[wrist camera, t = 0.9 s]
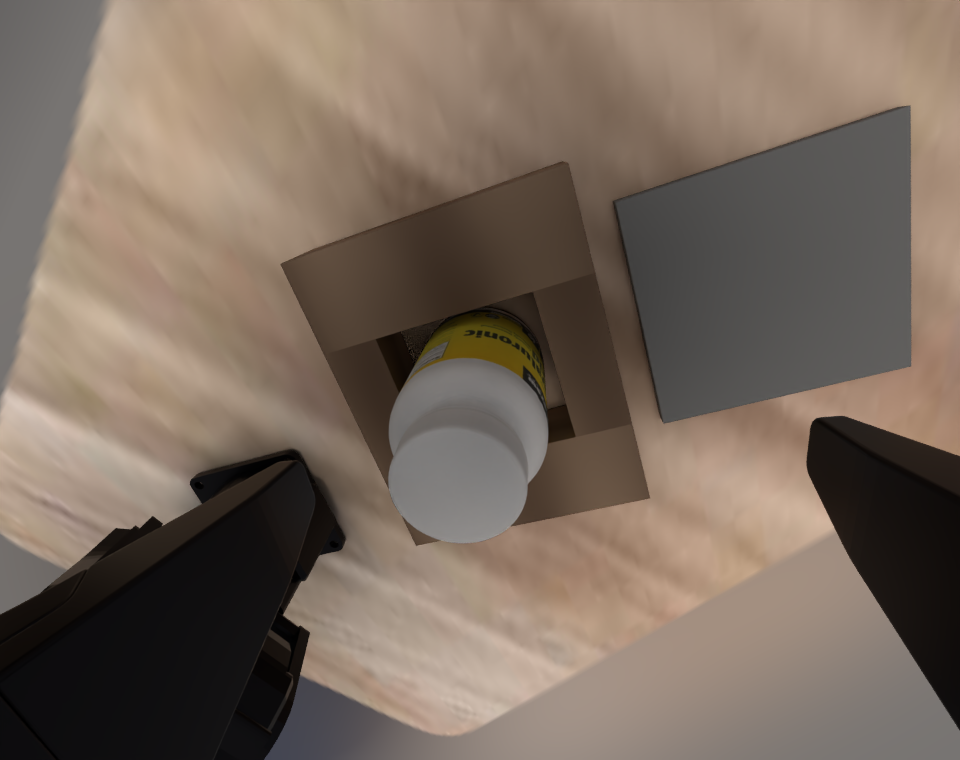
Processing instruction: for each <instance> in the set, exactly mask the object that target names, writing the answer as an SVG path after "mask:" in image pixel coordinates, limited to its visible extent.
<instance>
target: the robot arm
mask: <svg viewBox="0 0 960 760" xmlns="http://www.w3.org/2000/svg"><path fill="white" fill-rule="evenodd" d="M287 459H290V460H292V461H288V460H287ZM806 463H807V470H808V474H809V476H810V478H811V481H812V483H813V485H814V487H815V489H816V491H817V493H818V495H819V497H820V499H821V501H822V503H823V505H824V507H825V509H826V511H827V513H828V515H829V518H830V520H831V522H832V524H833V526H834V528H835V530H836V532H837V534H838V536H839V538H840V540H841V542H842V544H843V546H844V548H845V550H846V552H847V554H848V555H849V557H850V559H851V561H852V562H853V564H854V566H855V567H856V569H857V571H858V572H859V574H860V575H861V577H862V578H863V580H864V582H865V583H866V584H867V586H868V588H869V589H870V591H871V592H872V594H873V596H874V597H875V599H876V600H877V602H878V603H879V605H880V607H881V608H882V610H883V611H884V613H885V614H886V616H887V618H888V619H889V621H890V622H891V624H892V625H893V627H894V628H895V630H896V632H897V633H898V634H899V636H900V638H901V639H902V641H903V643H904V644H905V646H906V647H907V649H908V650H909V652H910V653H911V655H912V657H913V658H914V660H915V661H916V663H917V664H918V666H919V667H920V669H921V671H922V672H923V674H924V675H925V677H926V679H927V680H928V682H929V683H930V685H931V686H932V688H933V690H934V691H935V692H936V694H937V696H938V697H939V699H940V700H941V702H942V703H943V705H944V707H945V708H946V710H947V711H948V713H949V715H950V716H951V718H952V719H953V721H954V722H955V724H956V725H957V727H958V729H959V730H960V456H958V455H955V454H952V453H949V452H946V451H943V450H940V449H938V448H935V447H932V446H929V445H926V444H923V443H920V442H917V441H914V440H912V439H909V438H906V437H903V436H900V435H897V434H894V433H891V432H889V431H886V430H883V429H880V428H877V427H874V426H871V425H868V424H865V423H863V422H860V421H857V420H854V419H851V418H848V417H845V416H833V417H821V418H816V419H815V420H814V421H813V422H812V424H811V428H810V435H809V444H808V452H807V461H806ZM200 482H201V483H202V484H201V483H200ZM190 486H191V488H192V489H193V491H194V492H195V494H196V495H197V497H198V498H199V500H200V501H201V503H202V504H201V505H199V506H198V507H196V508H194V509H192V510H190V511H189V512H187V513H185V514H183V515H181V516H180V517H178V518H176V519H174V520H172V521H171V522H169V523H167V524H165V525H163V526H162V524H163V523H161V522H160V521H159V520H157V519H156V518H155V517H153V516H152V517H151V518H150V519H149V520H148V521H147V522H146V523H145V524H144V525H143V526H142V527H141V528H140V529H139V528H138V527H137V526H134V527H133V528H132V529H131V530H130V529H120V528H116V529H114V530H113V531H112V532H111V533H110V534H109V535H108V536H107V537H106V538H105V539H103V540H102V541H101V542H100V543H99V544H98V545H97V546H96V547H95V548H93V549H92V550H91V551H90V552H89V553H88V554H87V555H86V556H84V557H83V558H82V559H81V560H80V561H78V562H77V563H76V564H75V565H74V566H72V567H71V568H70V569H69V570H67V571H66V572H65V573H64V574H62V575H61V576H60V577H59V578H58V579H56V580H55V581H54V582H53V583H51V584H50V585H49V586H48V587H47V588H46V589H44V590H43V591H42V592H41V593H40V594H38V595H36V596H34V597H33V598H31V599H29V600H27V601H25V602H23V603H21V604H20V605H18V606H16V607H14V608H12V609H10V610H8V611H6V612H4V613H2V614H0V760H264V759H265V757H266V756H267V754H268V753H269V752H270V750H271V748H272V747H273V745H274V744H275V742H276V740H277V739H278V737H279V735H280V733H281V731H282V729H283V727H284V725H285V723H286V721H287V718H288V716H289V714H290V711H291V708H292V705H293V701H294V697H295V693H296V689H297V685H298V681H299V676H300V672H301V668H302V664H303V660H304V656H305V651H306V647H307V643H308V639H309V635H310V632H309V631H307V630H306V629H304V628H303V627H302V626H299V627H298V626H297V625H295V624H294V623H292V622H291V621H290V620H288V619H287V618H286V617H284V616H283V614H284V612H285V610H286V608H287V607H288V605H289V603H290V601H291V599H292V597H293V595H294V593H295V591H296V590H297V588H298V586H299V584H300V582H301V581H305V580H306V579H307V577H308V576H309V574H310V572H311V570H312V568H313V566H314V564H315V562H316V560H317V558H318V556H319V555H322V554H326V553H331V552H336V551H339V550H341V549H342V548H343V546H344V544H345V537H344V536H343V534H342V532H341V530H340V528H339V526H338V525H337V523H336V520H335V518H334V516H333V514H332V512H331V510H330V509H329V507H328V505H327V503H326V501H325V499H324V498H323V496H322V494H321V492H320V490H319V489H318V487H317V486H316V484H315V483H314V481H313V479H312V477H311V475H310V473H309V472H308V470H307V468H306V466H305V464H304V462H303V461H302V459H301V457H300V456H299V454H298V453H296V452H295V451H292V450H288V451H284V452H280V453H276V454H272V455H268V456H264V457H261V458H257V459H253V460H249V461H245V462H241V463H238V464H234V465H230V466H226V467H222V468H218V469H215V470H211V471H207V472H203V473H199V474H197V475H196V476H195V477H194V478H192V479H191V481H190ZM334 541H336V542H337V543H336V542H334Z"/></svg>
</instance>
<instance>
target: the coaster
mask: <svg viewBox="0 0 960 760" xmlns="http://www.w3.org/2000/svg"><path fill="white" fill-rule="evenodd" d="M613 202H614V207H615V211H616V216H617V220H618V225H619V230H620V234H621V239H622V243H623V248H624V252H625V257H626V262H627V266H628V271H629V275H630V280H631V285H632V289H633V294H634V298H635V303H636V307H637V312H638V317H639V321H640V326H641V330H642V335H643V339H644V344H645V349H646V353H647V358H648V362H649V367H650V371H651V376H652V381H653V385H654V390H655V394H656V399H657V404H658V408H659V413H660V417H661V419H662V421H663V423H669V422H673V421H677V420H681V419H686V418H690V417H694V416H699V415H703V414H707V413H712V412H716V411H720V410H725V409H729V408H733V407H738V406H742V405H746V404H750V403H755V402H759V401H763V400H768V399H772V398H776V397H781V396H785V395H789V394H794V393H798V392H802V391H807V390H811V389H815V388H820V387H824V386H828V385H832V384H837V383H841V382H845V381H850V380H854V379H858V378H863V377H867V376H871V375H876V374H880V373H884V372H889V371H893V370H897V369H901V368H906V367H910V366H911V124H910V106H902V107H897V108H894V109H891V110H888V111H885V112H882V113H879V114H876V115H873V116H870V117H867V118H864V119H860V120H857V121H854V122H851V123H848V124H845V125H842V126H839V127H836V128H833V129H830V130H827V131H824V132H821V133H818V134H815V135H812V136H809V137H806V138H803V139H800V140H797V141H794V142H791V143H788V144H785V145H782V146H778V147H775V148H772V149H769V150H766V151H763V152H760V153H757V154H754V155H751V156H748V157H745V158H742V159H739V160H736V161H733V162H730V163H727V164H724V165H721V166H718V167H715V168H712V169H709V170H706V171H703V172H700V173H697V174H693V175H690V176H687V177H684V178H681V179H678V180H675V181H672V182H669V183H666V184H663V185H660V186H657V187H654V188H651V189H648V190H645V191H642V192H639V193H636V194H633V195H630V196H627V197H624V198H621V199H618V200H615V201H613Z"/></svg>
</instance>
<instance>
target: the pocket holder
mask: <svg viewBox="0 0 960 760" xmlns="http://www.w3.org/2000/svg"><path fill="white" fill-rule="evenodd" d="M281 266H282V268H283V270H284V273H285V275H286V277H287V279H288V281H289V283H290V285H291V287H292V289H293V291H294V293H295V295H296V297H297V300H298V302H299V304H300V306H301V308H302V310H303V312H304V314H305V316H306V318H307V320H308V322H309V324H310V326H311V329H312V331H313V333H314V335H315V337H316V339H317V341H318V343H319V345H320V347H321V349H322V351H323V353H324V356H325V358H326V360H327V362H328V364H329V366H330V368H331V370H332V372H333V374H334V376H335V378H336V380H337V383H338V385H339V387H340V389H341V391H342V393H343V395H344V397H345V399H346V401H347V403H348V405H349V407H350V409H351V412H352V414H353V416H354V418H355V420H356V422H357V424H358V426H359V428H360V430H361V432H362V434H363V436H364V439H365V441H366V443H367V445H368V447H369V449H370V451H371V453H372V455H373V457H374V459H375V461H376V463H377V466H378V468H379V470H380V472H381V474H382V476H383V478H384V480H385V482H386V484H387V486H388V476H389V469H390V465H391V461H392V459H393V457H394V456H393V453H392V450H391V446H390V442H389V421H390V415H391V412H392V409H393V406H394V404H395V401H396V399H397V397H398V395H399V393H400V391H401V389H402V388H403V386H404V384H405V382H406V380H407V379H408V377H409V375H410V373H411V371H412V369H413V367H414V363H413V361H412V359H411V356H410V354H409V351H408V349H407V346H406V344H405V342H404V339H403V337H402V334H401V331H404V330H407V329H411V328H414V327H417V326H420V325H424V324H427V323H430V322H434V321H437V320H440V319H444V318H447V317H450V316H454V315H457V314H460V313H464V312H467V311H470V310H474V309H477V308H480V307H483V306H487V305H490V304H493V303H497V302H500V301H503V300H507V299H510V298H513V297H517V296H520V295H523V294H527V293H530V292H533V294H534V297H535V301H536V304H537V308H538V311H539V314H540V318H541V321H542V324H543V328H544V331H545V335H546V338H547V341H548V345H549V348H550V351H551V355H552V358H553V362H554V365H555V368H556V372H557V375H558V378H559V382H560V385H561V389H562V392H563V395H564V399H565V402H566V405H565V406H561V407H557V408H553V409H549V410H547V416H548V445H547V451H546V455H545V458H544V461H543V463H542V465H541V467H540V469H539V471H538V472H537V474H536V475H535V476H534V478H533V479H532V480H531V481H530V482H529V483H528V490H527V497H526V502H525V505H524V508H523V510H522V512H521V514H520V515H519V517H518V518H517V520H516V521H515V522H514V523H513V524H512V525H511V526H516V525H520V524H525V523H530V522H535V521H540V520H545V519H550V518H555V517H560V516H565V515H570V514H575V513H580V512H585V511H590V510H595V509H599V508H604V507H609V506H614V505H619V504H624V503H629V502H634V501H639V500H644V499H649V498H650V496H649V492H648V487H647V483H646V479H645V475H644V471H643V467H642V463H641V459H640V455H639V451H638V447H637V442H636V438H635V434H634V430H633V426H632V422H631V418H630V414H629V410H628V406H627V402H626V397H625V393H624V389H623V385H622V381H621V377H620V373H619V369H618V365H617V361H616V357H615V352H614V348H613V344H612V340H611V336H610V332H609V328H608V324H607V320H606V316H605V312H604V307H603V303H602V299H601V295H600V291H599V287H598V283H597V279H596V275H595V271H594V267H593V262H592V258H591V254H590V250H589V246H588V242H587V238H586V234H585V230H584V226H583V222H582V217H581V213H580V209H579V205H578V201H577V197H576V193H575V189H574V185H573V181H572V177H571V172H570V168H569V164H568V163H567V162H563V161H562V162H559V163H557V164H554V165H551V166H548V167H545V168H542V169H540V170H537V171H534V172H531V173H528V174H525V175H523V176H520V177H517V178H514V179H511V180H508V181H506V182H503V183H500V184H497V185H494V186H491V187H489V188H486V189H483V190H480V191H477V192H474V193H472V194H469V195H466V196H463V197H460V198H457V199H455V200H452V201H449V202H446V203H443V204H440V205H438V206H435V207H432V208H429V209H426V210H424V211H421V212H418V213H415V214H412V215H409V216H407V217H404V218H401V219H398V220H395V221H392V222H390V223H387V224H384V225H381V226H378V227H375V228H373V229H370V230H367V231H364V232H361V233H358V234H356V235H353V236H350V237H347V238H344V239H341V240H339V241H336V242H333V243H330V244H327V245H324V246H322V247H319V248H316V249H313V250H311V251H308V252H306V253H304V254H302V255H299V256H297V257H295V258H293V259H291V260H288V261H286V262H284V263H282V264H281ZM388 488H389V486H388ZM402 517H403V516H402ZM403 519H404V518H403ZM404 522H405V524H406V526H407V528H408V530H409V532H410V534H411V536H412V538H413V540H414V542H415V544H416V546H417V545H422V544H427V543H432V542H437V541H441V540H438V539H435V538H432V537H430V536H428V535H426V534H424V533H422V532H420V531H419V530H417V529H416V528H414V527H413V526H412V525H411V524H410V523H408V522H407V521H406V520H405V519H404ZM511 526H510V527H511Z"/></svg>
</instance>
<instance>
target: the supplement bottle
mask: <svg viewBox="0 0 960 760" xmlns="http://www.w3.org/2000/svg"><path fill="white" fill-rule="evenodd" d="M389 442H390V446H391V450H392V453H393V456H394V457H393V459H392V461H391V465H390V469H389V476H388V486H389V491H390V495H391V498H392V501H393V503H394V505H395V507H396V508H397V510H398V511H399V513H400V514H401V515H402V516H403V518H404V519H405V520H406V521H407V522H408V523H410V524H411V525H412V526H413V527H414V528H416V529H417V530H419V531H420V532H422V533H424V534H426V535H428V536H430V537H432V538H435V539H438V540H442V541H446V542H452V543H475V542H480V541H484V540H487V539H490V538H493V537H495V536H497V535H499V534H501V533H502V532H504V531H505V530H506V529H508V528H509V527H510V526H511V525H512V524H513V523H514V522H515V521H516V520H517V518H518V517H519V515H520V514H521V512H522V510H523V508H524V505H525V502H526V497H527V490H528V483H529V482H530V481H531V480H532V479H533V478H534V476H535V475H536V474H537V472H538V471H539V469H540V467H541V465H542V463H543V461H544V458H545V455H546V451H547V445H548V416H547V401H546V387H545V372H544V363H543V356H542V352H541V349H540V346H539V343H538V341H537V339H536V337H535V336H534V334H533V333H532V332H531V330H530V329H529V328H528V327H527V326H526V325H525V324H524V323H523V322H522V321H520V320H519V319H518V318H516V317H515V316H513V315H511V314H509V313H507V312H504V311H501V310H497V309H493V308H477V309H474V310H470V311H467V312H464V313H460V314H457V315H454V316H451V317H449V318H448V319H447V320H445V321H444V322H443V323H442V324H441V325H440V326H439V327H438V328H437V329H436V330H435V332H434V333H433V334H432V336H431V337H430V339H429V341H428V342H427V344H426V346H425V348H424V349H423V351H422V353H421V355H420V357H419V359H418V360H417V362H416V364H415V366H414V367H413V369H412V371H411V373H410V375H409V377H408V379H407V380H406V382H405V384H404V386H403V388H402V389H401V391H400V393H399V395H398V397H397V399H396V401H395V404H394V406H393V409H392V412H391V415H390V421H389Z"/></svg>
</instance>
